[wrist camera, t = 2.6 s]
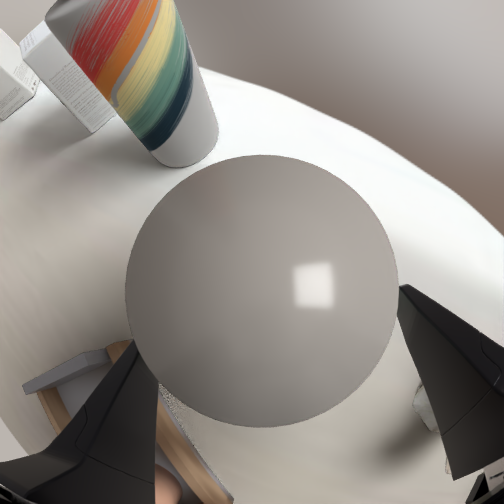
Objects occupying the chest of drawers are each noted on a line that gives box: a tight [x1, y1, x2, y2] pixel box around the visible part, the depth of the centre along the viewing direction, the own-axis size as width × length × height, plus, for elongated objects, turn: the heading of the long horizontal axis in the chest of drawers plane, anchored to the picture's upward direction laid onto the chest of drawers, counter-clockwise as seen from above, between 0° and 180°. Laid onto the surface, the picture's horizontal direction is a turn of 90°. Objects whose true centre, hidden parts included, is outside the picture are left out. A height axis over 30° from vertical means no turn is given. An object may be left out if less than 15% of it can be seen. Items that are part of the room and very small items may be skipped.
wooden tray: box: [36, 339, 234, 504], centre depth 14 cm, size 15×11×5 cm
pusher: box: [22, 348, 112, 395], centre depth 15 cm, size 1×8×4 cm, turn 119°
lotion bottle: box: [45, 0, 219, 167], centre depth 11 cm, size 6×6×20 cm
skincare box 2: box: [19, 19, 117, 133], centre depth 17 cm, size 6×4×12 cm
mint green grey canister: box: [125, 155, 399, 427], centre depth 12 cm, size 6×6×13 cm
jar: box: [155, 463, 183, 504], centre depth 13 cm, size 5×5×5 cm
